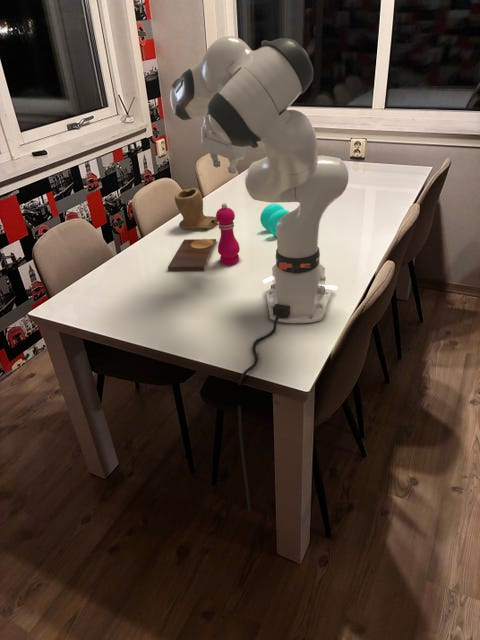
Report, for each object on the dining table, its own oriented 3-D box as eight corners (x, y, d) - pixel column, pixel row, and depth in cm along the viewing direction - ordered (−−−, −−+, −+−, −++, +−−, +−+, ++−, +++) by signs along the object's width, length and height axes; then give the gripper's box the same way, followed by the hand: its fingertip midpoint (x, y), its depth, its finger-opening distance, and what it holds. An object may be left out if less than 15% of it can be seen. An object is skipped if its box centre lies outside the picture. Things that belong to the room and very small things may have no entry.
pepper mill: (215, 259, 166) (209, 202, 155) (235, 254, 168) (229, 197, 157) (224, 267, 160) (217, 209, 149) (244, 262, 162) (239, 204, 152)
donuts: (284, 225, 186) (283, 200, 180) (296, 234, 178) (295, 208, 172) (259, 231, 183) (258, 205, 178) (270, 240, 175) (269, 214, 170)
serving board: (203, 270, 160) (203, 265, 159) (168, 270, 162) (167, 266, 161) (216, 242, 178) (216, 238, 177) (184, 243, 180) (184, 238, 179)
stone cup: (173, 231, 190) (167, 194, 182) (186, 220, 199) (181, 184, 191) (209, 234, 185) (204, 195, 177) (221, 222, 194) (217, 185, 186)
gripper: (193, 118, 147) (199, 165, 154) (227, 128, 132) (232, 179, 139) (212, 115, 149) (217, 161, 157) (247, 124, 134) (251, 174, 142)
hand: (224, 169), depth 148 cm, fingers open, 8 cm apart
